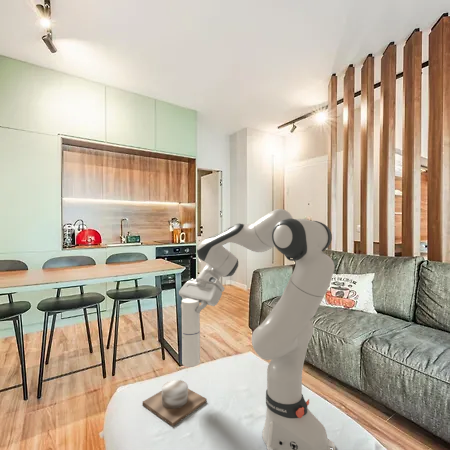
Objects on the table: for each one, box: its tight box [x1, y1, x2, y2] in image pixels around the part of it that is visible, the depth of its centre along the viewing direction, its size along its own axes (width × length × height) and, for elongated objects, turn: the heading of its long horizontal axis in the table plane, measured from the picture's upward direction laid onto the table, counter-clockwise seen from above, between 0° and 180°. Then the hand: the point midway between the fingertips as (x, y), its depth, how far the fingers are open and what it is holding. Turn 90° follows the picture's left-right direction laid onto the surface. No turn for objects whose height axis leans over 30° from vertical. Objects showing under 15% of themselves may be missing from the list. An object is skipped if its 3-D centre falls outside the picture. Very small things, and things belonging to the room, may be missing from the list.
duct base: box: [142, 379, 208, 427], centre depth 105 cm, size 18×17×6 cm
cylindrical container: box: [181, 298, 201, 368], centre depth 108 cm, size 7×7×25 cm
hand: (189, 309), depth 108 cm, fingers closed on cylindrical container, 7 cm apart
